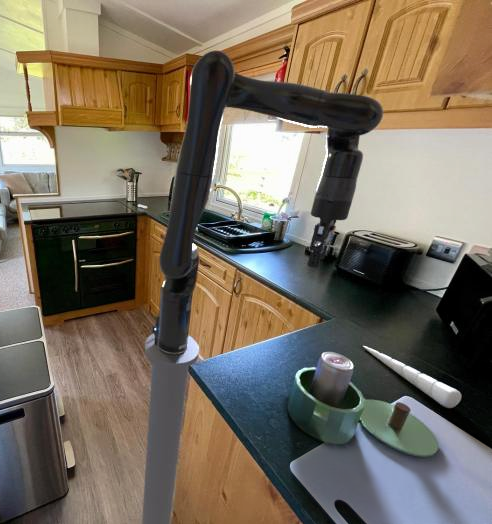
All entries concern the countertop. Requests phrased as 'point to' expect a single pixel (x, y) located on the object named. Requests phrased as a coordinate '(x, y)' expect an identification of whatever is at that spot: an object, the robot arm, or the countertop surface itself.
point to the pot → (324, 411)
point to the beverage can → (331, 379)
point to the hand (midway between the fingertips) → (315, 262)
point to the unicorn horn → (422, 381)
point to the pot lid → (398, 428)
